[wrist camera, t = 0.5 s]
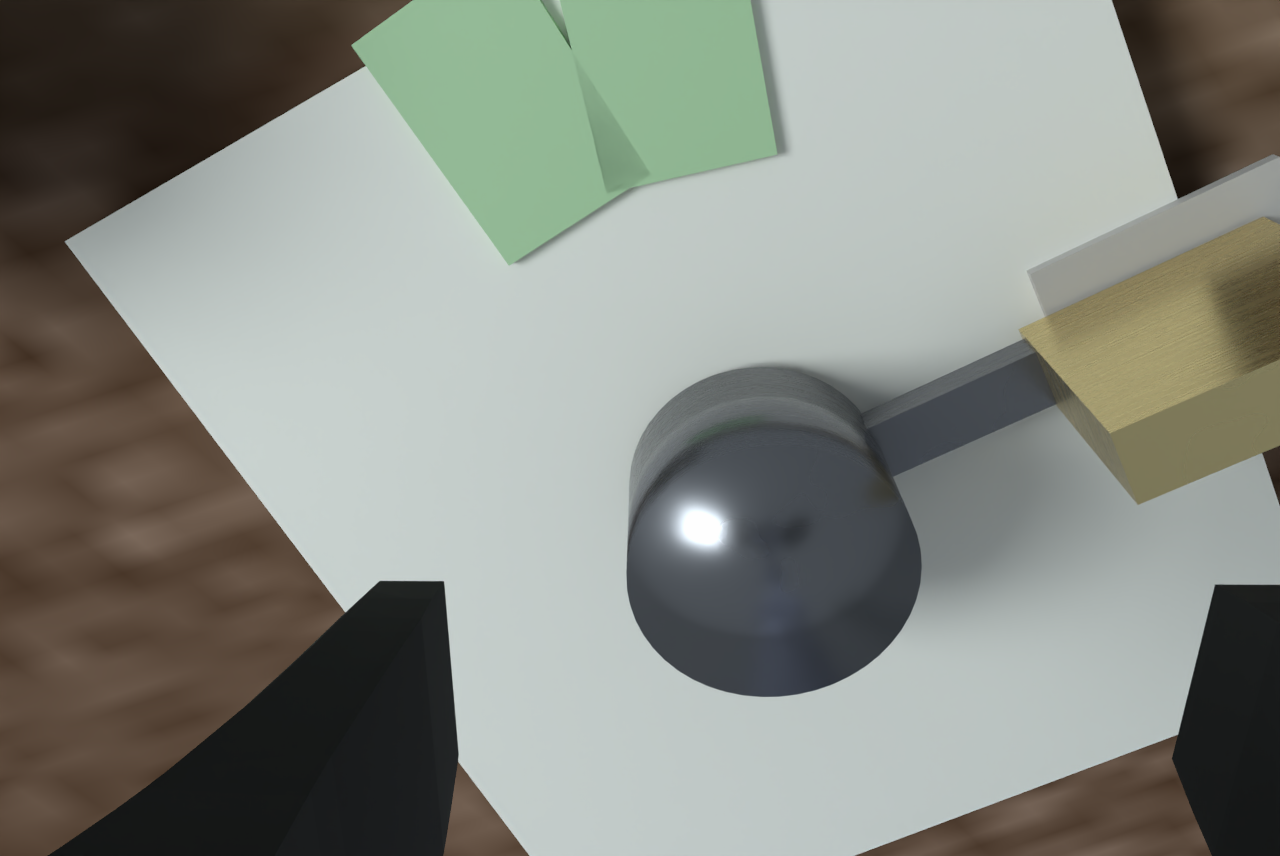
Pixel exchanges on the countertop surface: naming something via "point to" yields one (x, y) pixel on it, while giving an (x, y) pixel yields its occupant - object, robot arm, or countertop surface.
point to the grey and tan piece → (911, 435)
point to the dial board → (689, 352)
